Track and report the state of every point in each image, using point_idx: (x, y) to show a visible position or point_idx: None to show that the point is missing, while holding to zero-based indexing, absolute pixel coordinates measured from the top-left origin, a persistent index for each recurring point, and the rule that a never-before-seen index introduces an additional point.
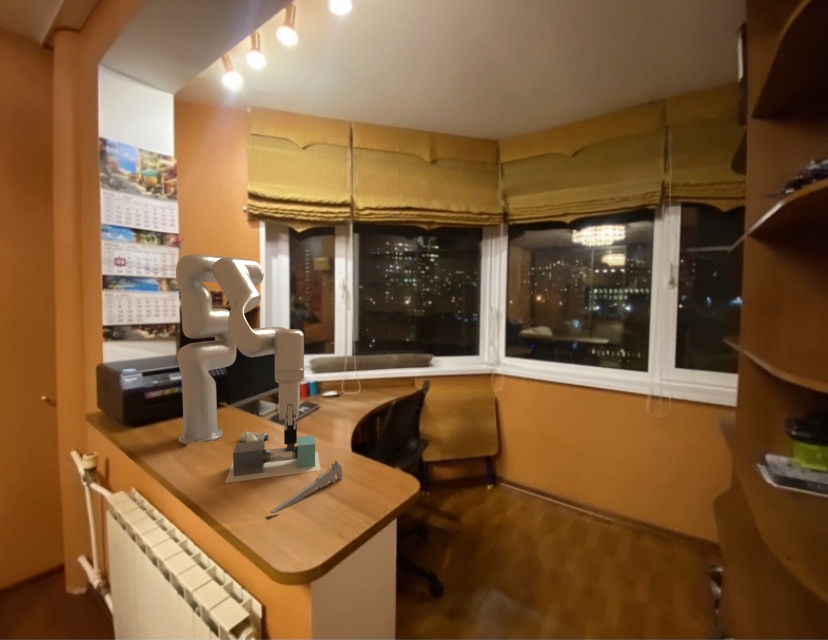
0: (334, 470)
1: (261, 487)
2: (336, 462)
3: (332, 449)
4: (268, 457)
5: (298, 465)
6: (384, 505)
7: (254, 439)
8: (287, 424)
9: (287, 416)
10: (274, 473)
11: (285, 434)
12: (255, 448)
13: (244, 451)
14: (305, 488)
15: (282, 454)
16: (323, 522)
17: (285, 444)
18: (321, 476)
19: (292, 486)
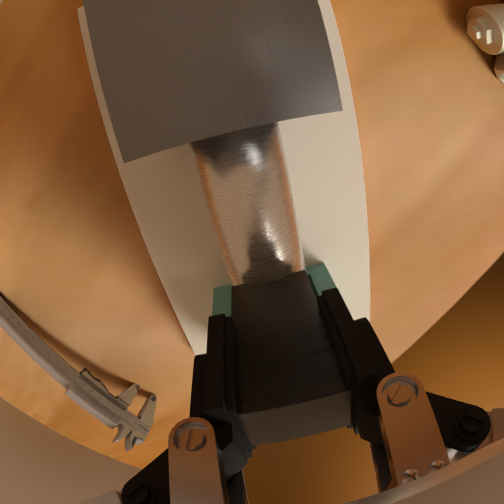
0: (117, 426)
1: (76, 169)
2: (126, 447)
3: (394, 345)
4: (196, 168)
5: (213, 299)
6: (88, 440)
7: (501, 33)
8: (123, 502)
9: (459, 414)
10: (158, 198)
11: (207, 381)
12: (151, 88)
13: (94, 28)
14: (34, 355)
15: (221, 253)
16: (3, 365)
17: (210, 318)
18: (77, 400)
19: (100, 284)
